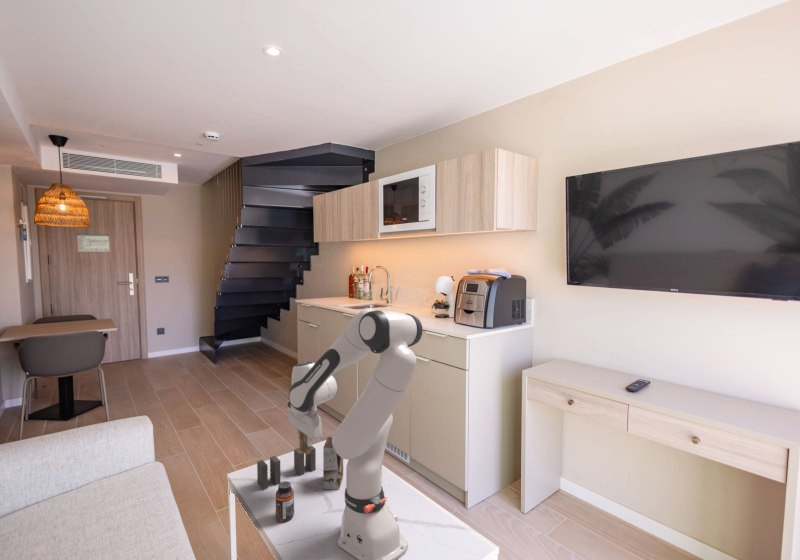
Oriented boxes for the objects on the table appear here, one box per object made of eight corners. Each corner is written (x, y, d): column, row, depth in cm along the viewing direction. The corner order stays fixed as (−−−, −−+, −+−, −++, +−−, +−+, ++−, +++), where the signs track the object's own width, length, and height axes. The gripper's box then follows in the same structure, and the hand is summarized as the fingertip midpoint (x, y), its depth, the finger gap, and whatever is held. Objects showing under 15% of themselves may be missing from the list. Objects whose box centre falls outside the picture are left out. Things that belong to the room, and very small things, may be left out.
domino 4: (310, 452, 144) (310, 428, 144) (305, 454, 143) (305, 430, 142) (304, 447, 148) (304, 424, 147) (299, 449, 147) (299, 425, 146)
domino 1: (267, 488, 148) (267, 465, 147) (262, 490, 147) (262, 466, 146) (262, 482, 152) (262, 459, 151) (257, 484, 150) (257, 461, 150)
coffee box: (339, 489, 147) (339, 447, 146) (322, 489, 148) (322, 447, 147) (343, 476, 156) (343, 436, 156) (327, 475, 157) (327, 436, 156)
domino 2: (280, 483, 151) (280, 460, 151) (275, 485, 150) (275, 462, 149) (275, 477, 155) (274, 455, 154) (270, 479, 154) (270, 457, 153)
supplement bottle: (272, 516, 132) (272, 483, 131) (289, 508, 136) (289, 477, 135) (280, 525, 128) (279, 491, 127) (297, 517, 131) (296, 484, 131)
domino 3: (304, 474, 158) (304, 452, 157) (299, 476, 156) (299, 454, 156) (298, 469, 161) (298, 447, 161) (294, 470, 160) (294, 449, 160)
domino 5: (315, 470, 161) (315, 448, 160) (311, 471, 160) (311, 450, 159) (309, 465, 165) (309, 444, 164) (305, 466, 163) (305, 445, 163)
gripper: (326, 411, 139) (327, 450, 139) (299, 396, 154) (300, 431, 155) (310, 416, 135) (310, 455, 135) (284, 400, 150) (285, 435, 151)
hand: (305, 442), depth 145 cm, fingers closed on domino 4, 5 cm apart
